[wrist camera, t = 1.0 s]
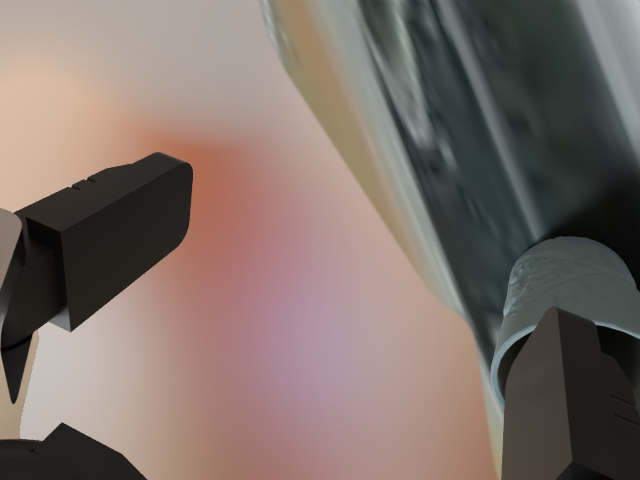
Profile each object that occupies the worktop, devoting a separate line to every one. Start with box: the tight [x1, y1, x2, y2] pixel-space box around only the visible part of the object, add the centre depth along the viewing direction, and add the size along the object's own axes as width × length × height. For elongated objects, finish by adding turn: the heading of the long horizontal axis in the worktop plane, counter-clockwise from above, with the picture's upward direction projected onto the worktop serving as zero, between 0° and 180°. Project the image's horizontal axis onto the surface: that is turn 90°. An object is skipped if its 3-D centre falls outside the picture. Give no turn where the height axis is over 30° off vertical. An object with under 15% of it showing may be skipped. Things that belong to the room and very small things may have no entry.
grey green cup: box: [491, 236, 640, 417], centre depth 33 cm, size 10×10×12 cm
